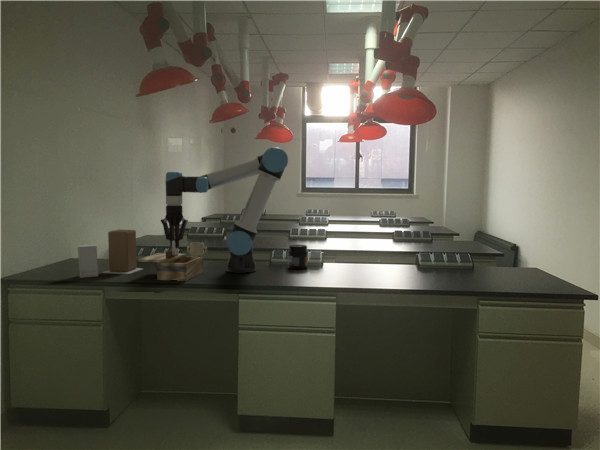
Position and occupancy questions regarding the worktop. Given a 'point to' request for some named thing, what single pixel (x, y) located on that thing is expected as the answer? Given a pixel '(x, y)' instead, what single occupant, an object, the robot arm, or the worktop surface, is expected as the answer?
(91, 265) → the skincare box
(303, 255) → the supplement container
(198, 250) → the character mug
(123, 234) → the wooden block
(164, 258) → the lid
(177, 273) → the toolbox
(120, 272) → the mat
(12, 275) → the worktop surface
